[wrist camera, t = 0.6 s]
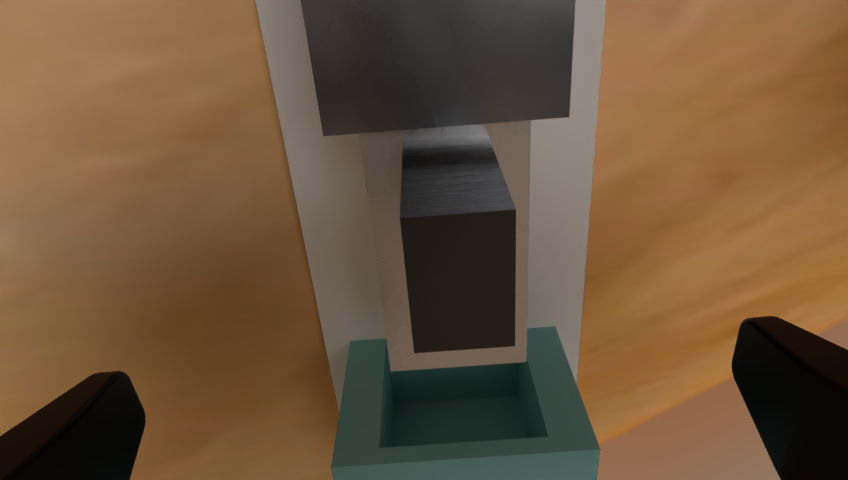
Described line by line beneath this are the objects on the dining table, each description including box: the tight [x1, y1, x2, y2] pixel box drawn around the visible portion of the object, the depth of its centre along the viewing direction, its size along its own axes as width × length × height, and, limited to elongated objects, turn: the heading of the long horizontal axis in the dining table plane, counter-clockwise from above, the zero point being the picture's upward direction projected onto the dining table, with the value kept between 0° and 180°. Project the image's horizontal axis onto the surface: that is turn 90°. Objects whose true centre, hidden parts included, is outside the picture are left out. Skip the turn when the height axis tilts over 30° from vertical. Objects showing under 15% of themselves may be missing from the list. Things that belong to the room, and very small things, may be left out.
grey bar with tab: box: [359, 120, 531, 371], centre depth 13 cm, size 16×4×8 cm, turn 4°
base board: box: [255, 0, 606, 412], centre depth 19 cm, size 25×10×1 cm, turn 4°
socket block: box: [331, 326, 600, 480], centre depth 20 cm, size 4×8×6 cm, turn 94°
